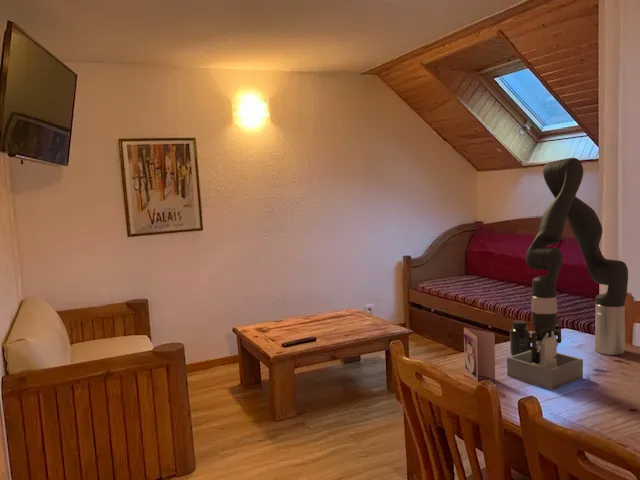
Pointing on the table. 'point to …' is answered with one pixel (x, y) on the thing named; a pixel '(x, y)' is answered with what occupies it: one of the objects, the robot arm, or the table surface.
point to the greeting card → (479, 353)
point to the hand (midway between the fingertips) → (544, 359)
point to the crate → (545, 370)
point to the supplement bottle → (518, 337)
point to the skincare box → (548, 353)
